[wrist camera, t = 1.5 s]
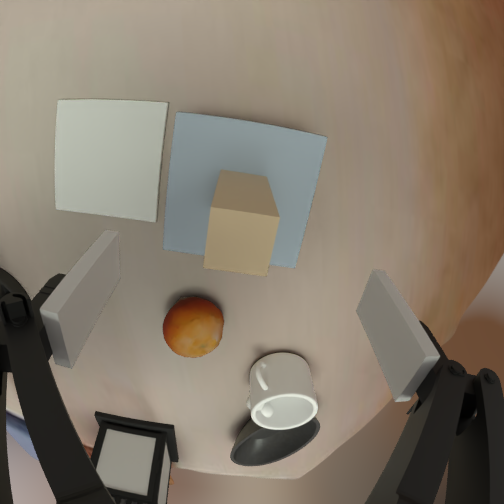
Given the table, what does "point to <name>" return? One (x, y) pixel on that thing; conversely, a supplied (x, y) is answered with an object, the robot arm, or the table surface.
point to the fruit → (193, 327)
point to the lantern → (134, 458)
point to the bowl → (271, 443)
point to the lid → (240, 191)
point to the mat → (109, 157)
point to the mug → (281, 392)
